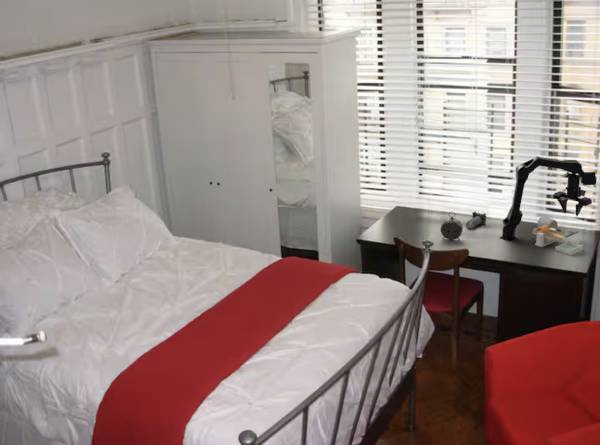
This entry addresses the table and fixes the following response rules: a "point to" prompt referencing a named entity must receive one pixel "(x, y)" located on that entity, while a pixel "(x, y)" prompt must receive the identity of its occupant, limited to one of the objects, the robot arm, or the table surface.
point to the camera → (476, 220)
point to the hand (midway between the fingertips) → (570, 214)
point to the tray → (569, 248)
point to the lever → (553, 234)
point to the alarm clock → (451, 228)
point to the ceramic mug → (547, 222)
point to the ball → (544, 228)
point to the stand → (541, 241)
